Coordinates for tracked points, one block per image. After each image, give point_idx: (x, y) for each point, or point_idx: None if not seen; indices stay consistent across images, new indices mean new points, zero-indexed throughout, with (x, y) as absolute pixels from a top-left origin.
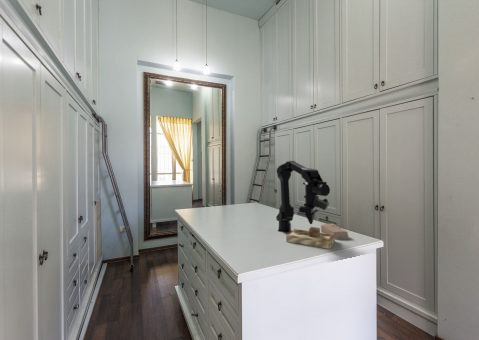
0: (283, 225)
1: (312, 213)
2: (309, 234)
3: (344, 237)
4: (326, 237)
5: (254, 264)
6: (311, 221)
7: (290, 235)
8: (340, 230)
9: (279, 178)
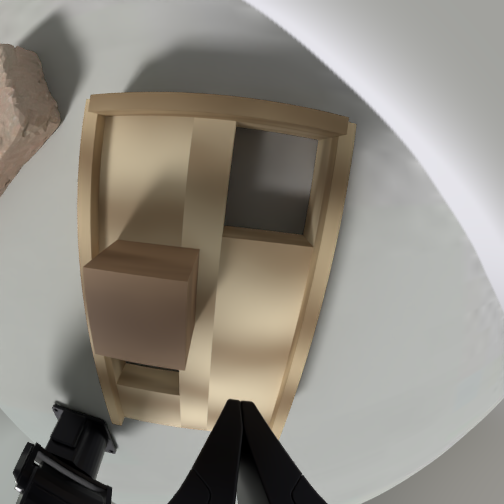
0: (98, 459)
1: None
2: (192, 331)
3: (34, 64)
4: (154, 169)
5: (498, 382)
6: (269, 434)
7: (283, 426)
8: None
9: None
